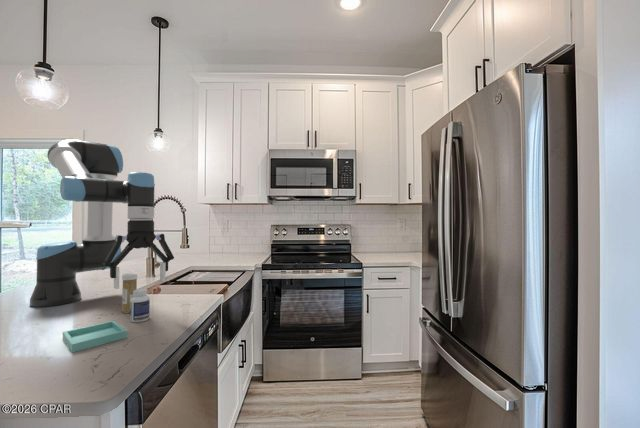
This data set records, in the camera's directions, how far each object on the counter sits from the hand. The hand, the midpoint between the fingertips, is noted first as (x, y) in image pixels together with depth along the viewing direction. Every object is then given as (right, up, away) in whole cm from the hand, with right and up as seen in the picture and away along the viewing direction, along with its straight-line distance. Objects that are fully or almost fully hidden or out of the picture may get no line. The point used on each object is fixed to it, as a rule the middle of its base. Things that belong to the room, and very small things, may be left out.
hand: (140, 284), depth 97 cm
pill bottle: (0, -12, 0) cm, 12 cm away
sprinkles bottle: (-9, -12, +8) cm, 17 cm away
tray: (-4, -12, -15) cm, 19 cm away
